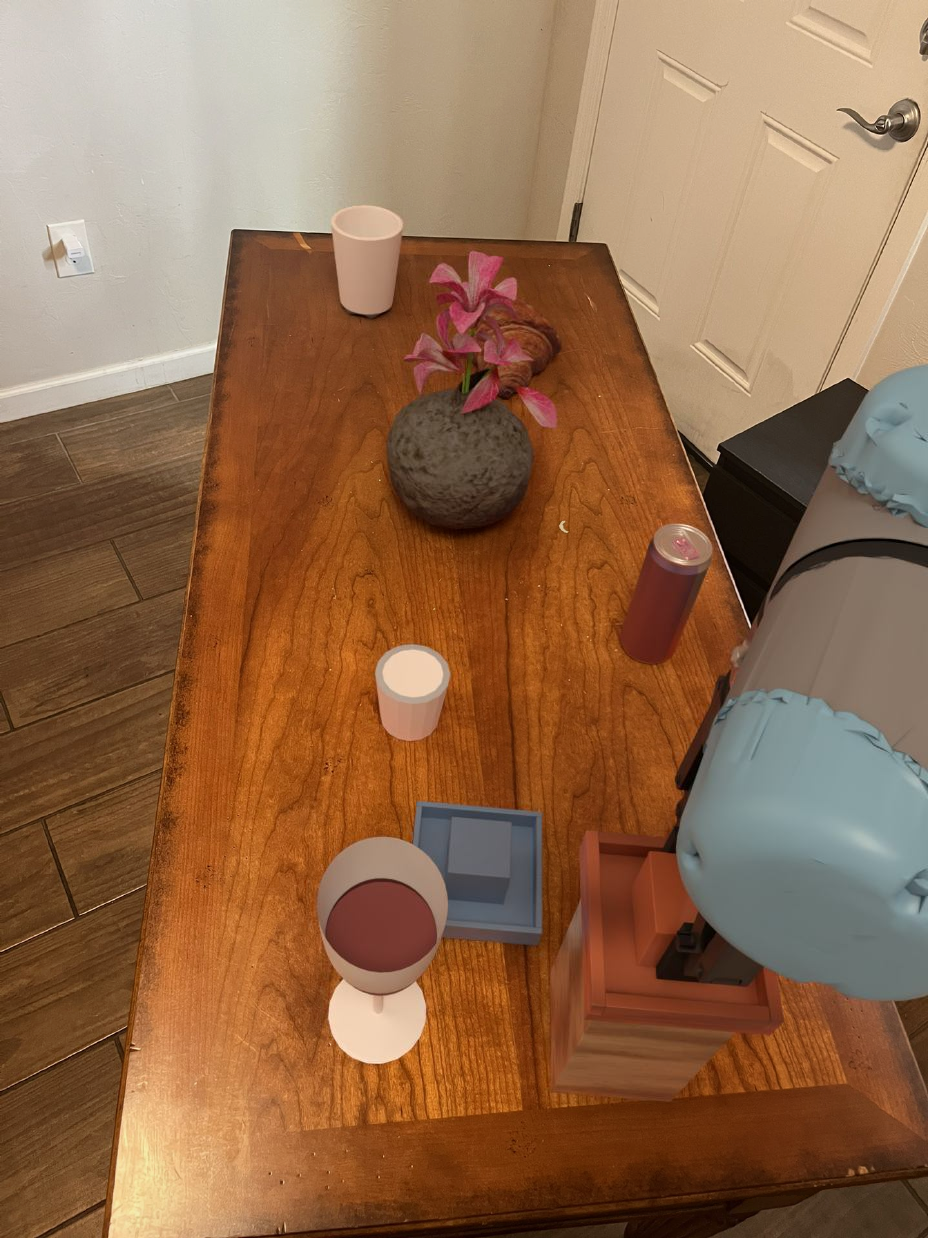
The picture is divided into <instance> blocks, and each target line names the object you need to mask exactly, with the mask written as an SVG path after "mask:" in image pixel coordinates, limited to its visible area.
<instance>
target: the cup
mask: <svg viewBox="0 0 928 1238" xmlns="http://www.w3.org/2000/svg"><path fill="white" fill-rule="evenodd" d="M330 227H331V235H332V243H333V244H332V245H333V250H334V259H335V268H336V277H337V285H338V294H339V301H340V304H341V305H342V306H343V308H344V310H345V311H346V313H347V314H349V315H356V314H358V315H362V316H365V317H366V318H367V319H370V320H371V319H375V318H377V316H379V315H381V314H382V313H387V312H388V313H389V312H390V311H391V309H392V307H393V301H394V295H395V289H396V281H397V275H398V266H399V259H400V252H401V247H402V246H401V245H402V238H403V230H404V220H403V219H402V218H401V216H399V215H398V214H397V213H395V212H394V211H392V210H389V209H387V208H384V207H381V206H378V205H377V206H376V205H367V204H365V205H364V204H363V205H361V204H360V205H352V206H351V205H350V206H347V207H343V208H341V209H340V210H338V211H336V212H335V213H334V214H333V215H332V217H331V219H330Z"/></svg>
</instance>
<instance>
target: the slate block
mask: <svg viewBox="0 0 928 1238" xmlns="http://www.w3.org/2000/svg"><path fill="white" fill-rule="evenodd" d="M511 826H512V823H511V822H504V821H493V820H482V819H471V818H460V817H452V818H451V825H450V832H449V838H448V845H447V858H446V872H445V887H446V891H447V898H448V900H459V901H470V902H481V903H493V904H503V903H504V899H505V895H506V892H507V888H508V884H509V881H510V870H511Z"/></svg>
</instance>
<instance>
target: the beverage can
mask: <svg viewBox="0 0 928 1238" xmlns="http://www.w3.org/2000/svg"><path fill="white" fill-rule="evenodd" d="M713 550H714V548H713V544H712V541H711V540H710V538H709V536H707V534H705V532H703V531H702V530H700V529H698V528H697V527H694V526H692V525H689V524H685V523H677V522H674V523H668V524H665V525H663V526H661V527H659V528H658V529H657V530H656V531H655V532H654V535H653V537H652V538H651V539H650V540H649V544H648V547H647V550H646V553H645V555H644V558H643V561H642V565H641V568H640V570H639V575H638V577H637V581H636V583H635V587H634V589H633V592H632V596H631V599H630V602H629V605H628V609H627V611H626V615H625V618H624V621H623V624H622V627H621V630H620V632H619V633H620V634H619V640H620V643H621V646H622V648H623V650H624V651H625V653H626V654H627V655H628V656H629V657H631V658H632V659H633V660H634V661H637V662H639V663H642V664H647V665H656V664H661V663H663V662H666V661H667V660H669V659H670V658H672V657H673V656H674V654H675V652H676V651H677V647H678V645H679V642H680V640H681V638H682V635H683V634H684V633H683V632H684V630H685V628H686V625H687V623H688V620H689V618H690V616H691V613H692V610H693V608H694V606H695V603H696V600H697V598H698V595H699V593H700V590H701V589H702V585H703V583H704V580H705V579H706V575H707V573H708V571H709V568H710V565H711V563H712V555H713V552H714V551H713Z"/></svg>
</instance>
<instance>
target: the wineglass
mask: <svg viewBox="0 0 928 1238" xmlns="http://www.w3.org/2000/svg"><path fill="white" fill-rule="evenodd" d="M316 910H317V918H318V919H317V920H318V926H319V931H320V936H321V940H322V944H323V947H324V951H325V953H326V955H327V958H328V959H329V961H330V963H331V965H332V967H333V969H334V970H335V971H336V972H337V974H338V975H339V976H340V977H341V978H342V980H341V981H340V982H339V983H338V985H337V986H336V987H335V989H334V991H333V993H332V996H331V998H330V1001H329V1005H328V1006H329V1007H328V1017H327V1020H328V1024H329V1028H330V1033H331V1035H332V1038H333V1039H334V1040H335V1042H336V1044H337V1046H338V1047H339V1049H341V1050H342V1051H343V1052H344V1053H346V1054H347V1055H348V1056H349V1057H350V1058H352V1059H354V1060H357V1061H360V1062H362V1063H364V1064H376V1065H378V1064H382V1065H383V1064H386V1063H390V1062H392V1061H396V1060H399V1059H400V1058H401V1057H402V1056H404V1055H406V1054H407V1053H408V1052H410V1051H411V1050H412V1049H413V1047H415V1045H416V1043H417V1042H418V1041H419V1039H420V1038H421V1036H422V1033H423V1031H424V1028H425V1024H426V1021H427V1003H426V1001H425V997H424V993H423V989H421V987H420V986H419V984H418V982H417V980H419V979H420V978H421V976H422V975H423V974H424V973H425V972H426V971H427V969H428V968H429V966H430V965H431V963H432V961H433V960H434V958H435V956H436V954H437V951H438V949H439V947H440V944H441V941H442V938H443V937H442V935H443V931H444V927H445V923H446V918H447V911H448V898H447V891H446V887H445V883H444V880H443V878H442V875H441V873H440V872H439V870H438V868H437V866H436V865H435V864H434V862H433V861H432V860H431V859H430V857H429V856H427V855H426V854H425V853H424V852H423V851H422V850H420V849H419V848H418V847H416V846H415V845H413V843H410V842H409V841H406V840H404V839H400V838H397V837H390V836H374V837H369V838H365V839H361V840H358V841H356V842H354V843H352V844H350V845H349V846H347V847H346V848H344V849H342V850H341V851H340V852H339V853H338V854H337V855H336V856H335V857H334V858H333V859H332V861H331V862H330V863H329V865H328V866H327V867H326V869H325V871H324V873H323V875H322V878H321V880H320V884H319V887H318V891H317V897H316Z"/></svg>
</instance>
